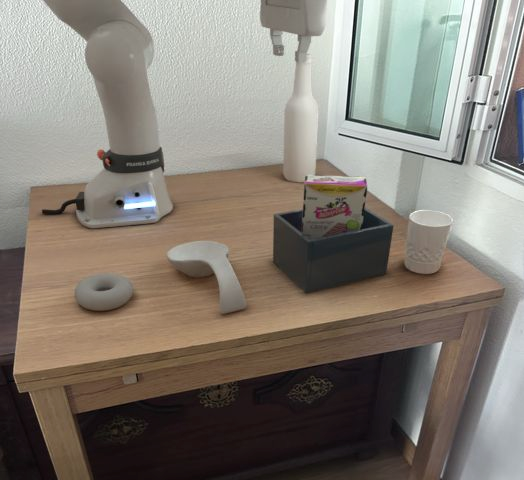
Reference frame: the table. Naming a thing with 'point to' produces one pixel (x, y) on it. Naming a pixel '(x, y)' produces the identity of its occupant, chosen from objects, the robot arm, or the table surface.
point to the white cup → (426, 240)
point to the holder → (331, 252)
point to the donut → (103, 291)
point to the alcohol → (300, 126)
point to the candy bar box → (332, 205)
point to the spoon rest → (210, 269)
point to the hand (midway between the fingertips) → (289, 58)
